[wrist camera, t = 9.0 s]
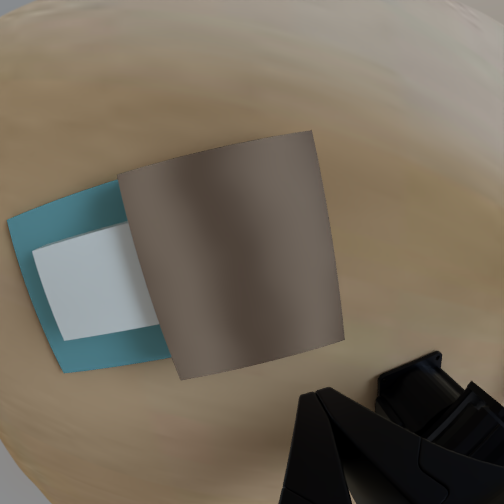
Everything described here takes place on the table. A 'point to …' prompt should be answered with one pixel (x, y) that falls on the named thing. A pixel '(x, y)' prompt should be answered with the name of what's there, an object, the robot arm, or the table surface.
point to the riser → (237, 253)
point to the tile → (95, 283)
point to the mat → (25, 241)
